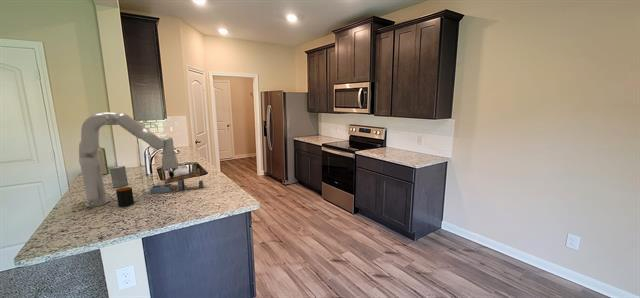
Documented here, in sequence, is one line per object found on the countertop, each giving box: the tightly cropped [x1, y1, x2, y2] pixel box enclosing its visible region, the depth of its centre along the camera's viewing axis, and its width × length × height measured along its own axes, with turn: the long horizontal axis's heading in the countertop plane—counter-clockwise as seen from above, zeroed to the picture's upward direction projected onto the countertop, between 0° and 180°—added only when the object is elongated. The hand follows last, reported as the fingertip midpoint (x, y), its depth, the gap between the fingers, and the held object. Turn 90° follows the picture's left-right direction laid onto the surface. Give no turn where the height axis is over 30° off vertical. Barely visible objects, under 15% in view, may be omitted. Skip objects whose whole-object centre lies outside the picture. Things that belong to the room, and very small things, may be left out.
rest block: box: [198, 180, 204, 189], centre depth 206 cm, size 5×2×4 cm, turn 17°
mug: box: [115, 186, 135, 208], centre depth 172 cm, size 8×12×10 cm
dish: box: [149, 183, 173, 195], centre depth 198 cm, size 9×13×4 cm
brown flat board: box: [163, 168, 201, 184], centre depth 206 cm, size 24×17×4 cm
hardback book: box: [98, 146, 110, 176], centre depth 248 cm, size 18×7×24 cm, turn 55°
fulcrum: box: [175, 179, 189, 193], centre depth 202 cm, size 6×12×8 cm, turn 17°
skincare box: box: [109, 165, 129, 189], centre depth 210 cm, size 8×7×16 cm
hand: (171, 176), depth 207 cm, fingers closed
